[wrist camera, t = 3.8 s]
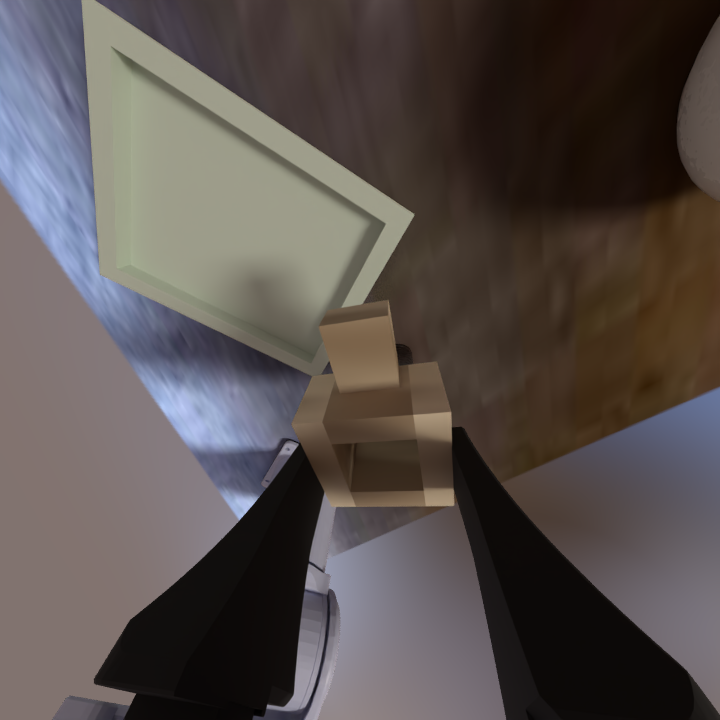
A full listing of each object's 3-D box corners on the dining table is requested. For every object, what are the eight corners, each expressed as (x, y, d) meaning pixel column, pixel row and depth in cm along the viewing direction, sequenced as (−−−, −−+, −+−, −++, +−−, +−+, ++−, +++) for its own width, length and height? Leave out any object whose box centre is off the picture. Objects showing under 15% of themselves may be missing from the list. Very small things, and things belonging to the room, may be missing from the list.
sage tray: (323, 365, 20) (318, 379, 19) (125, 267, 17) (100, 274, 16) (411, 212, 14) (414, 214, 12) (123, 18, 11) (81, -9, 9)
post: (402, 368, 19) (405, 404, 16) (382, 358, 19) (381, 392, 16) (416, 351, 19) (422, 386, 15) (395, 340, 18) (397, 373, 15)
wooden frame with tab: (442, 448, 14) (454, 505, 11) (341, 453, 15) (331, 506, 12) (432, 292, 9) (448, 328, 7) (290, 316, 10) (257, 355, 8)
